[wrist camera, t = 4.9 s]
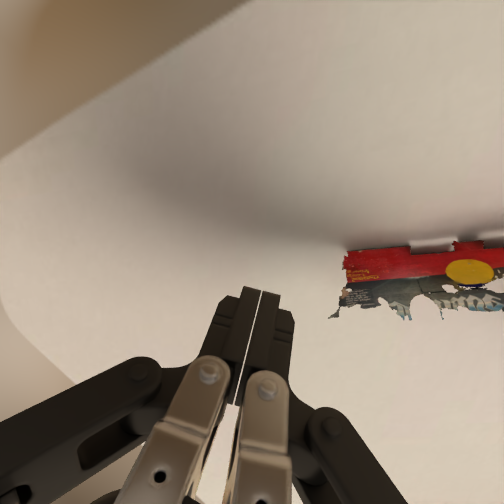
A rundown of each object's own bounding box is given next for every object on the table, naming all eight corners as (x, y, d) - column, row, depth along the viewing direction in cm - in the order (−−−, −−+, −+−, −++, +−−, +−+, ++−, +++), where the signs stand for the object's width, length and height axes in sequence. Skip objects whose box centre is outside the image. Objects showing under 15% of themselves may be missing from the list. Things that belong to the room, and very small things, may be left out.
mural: (339, 344, 22) (343, 436, 17) (325, 243, 18) (324, 326, 13) (578, 337, 19) (664, 449, 14) (619, 213, 15) (756, 308, 10)
